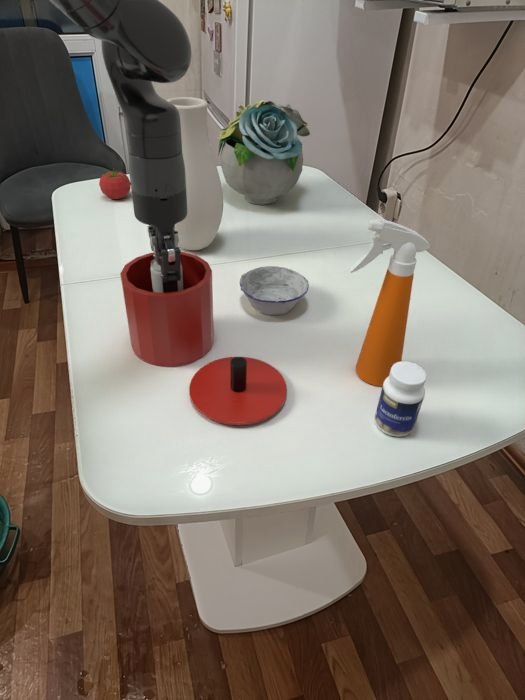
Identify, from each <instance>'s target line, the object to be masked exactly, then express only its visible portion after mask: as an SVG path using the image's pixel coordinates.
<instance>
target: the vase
mask: <svg viewBox="0 0 525 700" xmlns="http://www.w3.org/2000/svg"><path fill="white" fill-rule="evenodd" d="M166 100H167V101H169V102H170V103H172V104H173V105H175V106H176V107H177V109H178V111H179V114H180V122H181V138H182V153H183V159H184V165H185V175H186V194H187V216H186V218H185V219H184V220H183V221H181V222H178V223H177V224H175V231H178V236H179V243H178V247H179V248H180V249H182V250H186V251H200V250H203V249H205V248H207V247H209V246H210V245H211V244H212V242H214V239H215V238H216V236H217V235H218V231H219V230H220V226H221V223H222V219H223V213H224V192H223V186H222V181H221V177H220V173H219V170H218V166H217V163H216V160H215V157H214V153H213V150H212V146H211V141H210V136H209V129H208V106H209V105H208V101H206V99H202V98H199V97H192V96H181V97H171V98H168V99H166Z"/></svg>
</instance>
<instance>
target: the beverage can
mask: <svg viewBox="0 0 525 700" xmlns="http://www.w3.org/2000/svg"><path fill="white" fill-rule="evenodd" d="M160 258H162V257H160ZM180 263H181V261H180ZM150 269H151V278H152V287H153V292H158V293H163V285H162V278H161V277H160V275H161V271H160V265H158V264H157V263H156V260H155V259H154V260H153V261H152V262H151V268H150ZM177 283H178V291H183V273H182V265H181V280H180V281H177Z"/></svg>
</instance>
